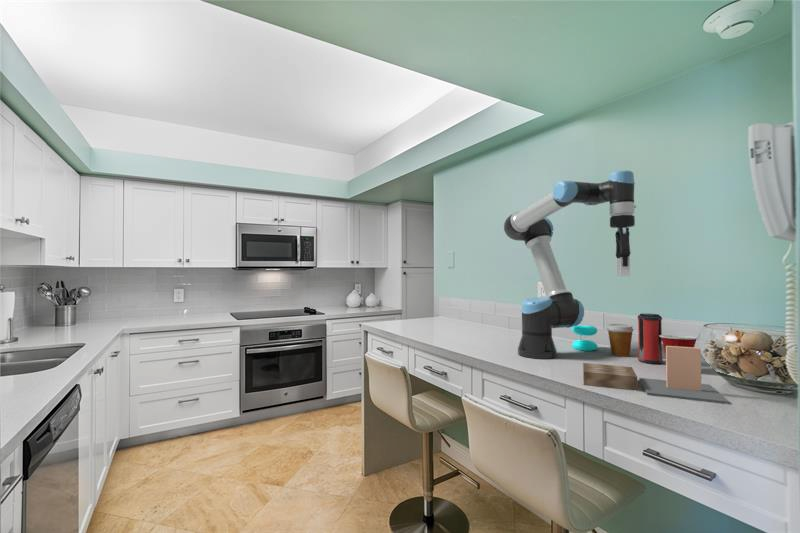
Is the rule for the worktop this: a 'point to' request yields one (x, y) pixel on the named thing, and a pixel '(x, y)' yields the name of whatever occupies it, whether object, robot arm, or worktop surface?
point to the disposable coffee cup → (620, 339)
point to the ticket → (683, 368)
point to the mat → (681, 391)
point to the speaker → (650, 338)
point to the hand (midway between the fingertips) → (622, 276)
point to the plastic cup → (678, 341)
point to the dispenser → (609, 376)
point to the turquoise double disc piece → (584, 344)
